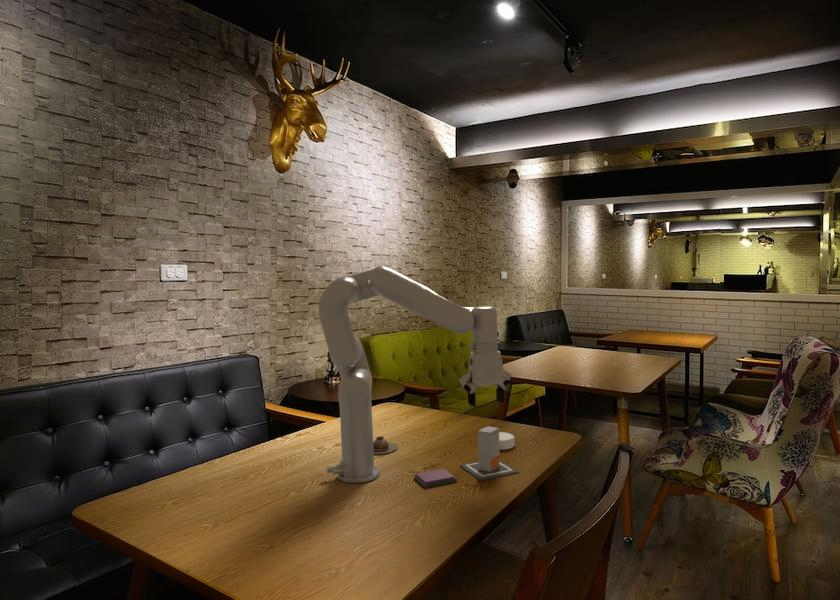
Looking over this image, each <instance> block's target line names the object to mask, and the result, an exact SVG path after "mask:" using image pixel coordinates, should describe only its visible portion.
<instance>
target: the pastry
mask: <svg viewBox="0 0 840 600" xmlns="http://www.w3.org/2000/svg"><path fill="white" fill-rule="evenodd" d="M389 449H390V450H389ZM397 449H398V446H397V444H396V443H393V442H390V441H389V442H388V440H387V439H385V437H384V436H383V435H382V436H377V437H376V438H375V440H373V450H374V456H376V455H383V454H389V453H391V452H393V451H395V450H397Z"/></svg>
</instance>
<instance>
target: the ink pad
mask: <svg viewBox="0 0 840 600" xmlns="http://www.w3.org/2000/svg"><path fill="white" fill-rule="evenodd" d="M413 479H414V480H415V481H416V482H417V483H418V484H419V485H420V486H422V487H423V488H424V489H428V488H432V487H438V486H443V485H447V484H452V483H457V482H458V481H457V477H456V476H454V475H453V474H452V473H450V472H449V471H448V470H446V469H445V468H440V469H434V470H430V471H429V470H428V471H423V472H419V473H416V474H415V475H413Z"/></svg>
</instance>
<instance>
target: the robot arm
mask: <svg viewBox="0 0 840 600" xmlns="http://www.w3.org/2000/svg"><path fill="white" fill-rule="evenodd" d="M378 296H380V297H383V299H386V300H389V301H390V302H392V303H395V304H396V305H399V306H401V307H402V308H404V309H407V310H408V311H410V312H412V313H414V314H416V315H418V316H421V317H424V318H426V319H428V320H429V321H431V322H434V323H436V325H437V324H438V325H439V326H442V327H443V328H446V329H448V330H449V331H452V332H454V333H455V334H460V335H461V334H462V335H463V334H467V333H468V332H470V331H471V334H472V335H471V337H472V338H471V339H472V342H471V344H469V345H468V349H469V350H471V351H472V352H470V355H469V362H468V372H466V374H464V375H463V376H462V377H460V378H459V379H458V381H459V383H460V385H461V387H462V388H463V389H464V390H465V392H467V403H468V405H469V406H471V407H473V408H474V407H476V405H477V403H476V402H477V401H476V400H477V399H476V393H475V391H476V389H477V388H483V387H492V386H496V389H495V393H496V396H495V398H496V399H495V400H496V402H498V403H504V402H505V400H504V399H505V390H506V389H507V386H508V385H509V383H510V380H511V377H512V373H509V372H508V371H506V370H504V365H503V358H502V353H501V351H500V350H498V313H497V308H495V307H494V306H475V307H467V306H461V305H459V304H457V303H455V302H454V301H453V302H452V301H451V300H449V299H447V298H445V297H443V296H441V295H439V294H438V293H437V292H435V291H433V290H432V289H431V288H429V287H427V286H426V285H424V284H421V283H419V282H418V281H415V280H414V279H412V278H409V277H407V276H406V275H404V274H403V273H400V272H398V271H396V270H393V269H392V268H390V267H388V266H383V265H380V266H379V265H378V266H376V267H375V268H372V269H369V270H366V271H364V272H359V273H356V274H352V275H349V276H341V277H338V278H335V279H334V280H333V281H332V282H330V283H329V284H328V285H327V287H326V288H325V289H324V290H323V291H322V293H321V295H320V298H319V300H318V315H319V320H320V324H321V328H322V331H323V335H324V336H323V337H324V338H325V342H326V346H327V349H328V350H327V351H328V353H329V357H330V360H331V363H333V365H334V366H335V367H336V368H337V369H338V372H339V375H340V378H341V379H340V382H339V384H338V391H337V392H338V393H337V394H338V405H339V406H338V407H339V419H340V435H341V436H340V439H341V441H340V444H341V459H340V460H339V463H336V465H330V466H329V465H328V466H326V473H327V474H331V473H332V475H337V479H338V480H340V482H344V483H349V484H359V483H366V482H371V481H373V480H375V479H377V478H378V477H379V475H380V473H381V472H380V468H378V467H377V466H376V465H375V455H374V453H375V451H374V450H373V442H374V432H373V431H374V430H373V426H374V425H373V406H372V405H373V404H372V389H373V377H372V373H371V370H370V366H369V362H368V358H367V356H366V353H365V350H364V346H363V343H362V341H361V340H360V338H358V337H357V336H356V335H355V332H354V330H353V326H352V323H351V318H350V315H349V311H348V309H349V306H350V305H352V304H354V303H357V302H360V301H364V300H368V299H371V298H375V297H378ZM467 381H468V383H469V384H467Z"/></svg>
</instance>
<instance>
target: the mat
mask: <svg viewBox="0 0 840 600" xmlns="http://www.w3.org/2000/svg"><path fill="white" fill-rule="evenodd" d="M459 467H460V468H461V469H463V470H465V471H466V472H468V473H469V474H471V476H473V477H475V478H476V479H478V480H479V481H480V482H481V481H487V480H489V479H490V480H491V479H496V478H500V477H505V476H511V475H515V474H519V473H520V472H519V470H517V469H515V468H514V467H512V466H510V465H508V464H507V463H505V462H504V461H501V460H500V466H499V467H497V468H496V469H494V470H492V471H491V472H488V471H484V470H480V469H478V461H474V462H469V463H465V464H460V465H459Z"/></svg>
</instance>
